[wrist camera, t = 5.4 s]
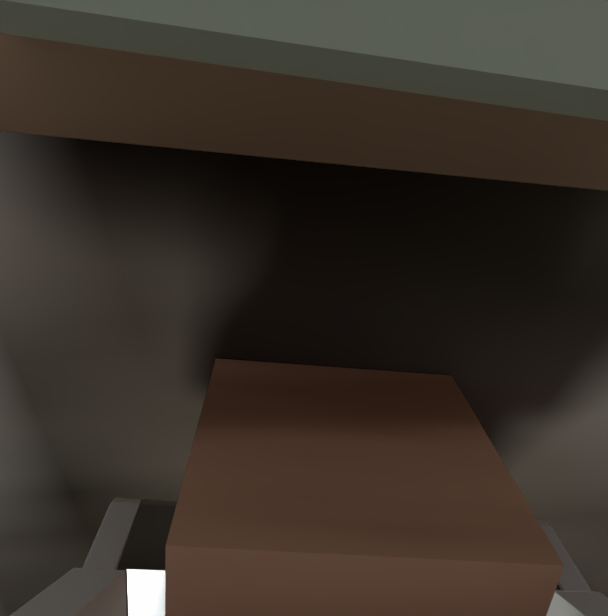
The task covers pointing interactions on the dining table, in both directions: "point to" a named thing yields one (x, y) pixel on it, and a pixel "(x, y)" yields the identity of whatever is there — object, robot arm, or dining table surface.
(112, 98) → the walnut block
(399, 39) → the sage block
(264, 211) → the dining table surface
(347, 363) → the dining table surface
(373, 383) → the terracotta cube
